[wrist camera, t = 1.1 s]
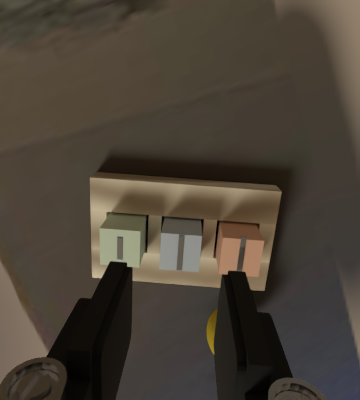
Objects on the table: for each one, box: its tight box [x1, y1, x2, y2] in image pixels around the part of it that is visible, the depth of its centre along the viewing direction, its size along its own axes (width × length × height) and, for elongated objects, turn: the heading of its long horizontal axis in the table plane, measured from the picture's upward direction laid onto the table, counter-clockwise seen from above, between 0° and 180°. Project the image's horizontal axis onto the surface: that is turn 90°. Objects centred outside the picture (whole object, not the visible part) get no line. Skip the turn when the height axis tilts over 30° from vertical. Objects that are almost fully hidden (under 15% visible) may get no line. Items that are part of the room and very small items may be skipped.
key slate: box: [159, 217, 202, 272], centre depth 33 cm, size 4×4×4 cm
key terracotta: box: [216, 221, 264, 277], centre depth 33 cm, size 5×4×4 cm
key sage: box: [100, 212, 147, 268], centre depth 33 cm, size 4×4×4 cm
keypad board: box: [90, 172, 282, 291], centre depth 36 cm, size 12×20×2 cm, turn 86°
